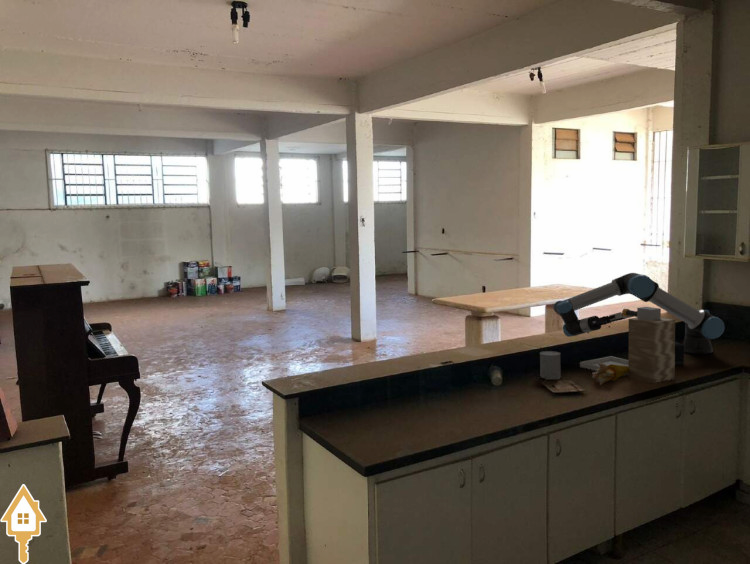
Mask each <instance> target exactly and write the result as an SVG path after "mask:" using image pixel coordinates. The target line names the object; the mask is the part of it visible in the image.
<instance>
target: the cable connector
mask: <svg viewBox="0 0 750 564" xmlns="http://www.w3.org/2000/svg"><path fill="white" fill-rule="evenodd" d="M621 313H622V315H623V316H633V317H632V318H638V319H644V320H651V321H653V320H659V319H661V318H662V308H660V307H653V306H652V307H651V306H641V307H637V309H636V310H631V309H630V308H629V309H628V308H623V309H622V310H621Z"/></svg>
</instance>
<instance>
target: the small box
mask: <svg viewBox="0 0 750 564" xmlns="http://www.w3.org/2000/svg"><path fill="white" fill-rule="evenodd" d="M682 344H683V343H679V342H677V341H675V366H684V364H685V363H684V361H685V359H684V358H685V352H684V345H682Z"/></svg>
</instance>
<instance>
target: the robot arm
mask: <svg viewBox="0 0 750 564" xmlns="http://www.w3.org/2000/svg"><path fill="white" fill-rule="evenodd" d="M624 295H632V296H634V297H636V298H637V299H638V300H640V301H643V302H644V303H648V302H650V303H651V304H653V305H655V306H657V308H660V309H661V310H663V311H665V312H667V313H669V314H671V315H672V316H674V317H675V318H677V319H679V320H681V321H682V322H684V324H685V325H684V331H685V332H684V339H683V342H682V343H681V344H682V345H684V353H686V352H687V354H692V353H693V355H708V353H709V354H713V350H714V348H713V345H712V343H711V340H714V339H718V338H719V337H721V336H722V335H723V333H724V332H725V323H724V321H723V320H722V319H721V318H719V317H718V316H714V315H712V314H711V313H710V310H709V309H696V308H695V307H693V306H691V305H690V304H688V303H686V302H684V301H682V300H681V299H679V298H678V297H676V296H674V295H672V294H671V293H670V292H667V291H666V290H664V289H662V288H661V287H660V286H659V283H658V282H656V281H655V280H653V279H652V278H651V277H649V276H648V275H646V274H642V273H641V274H640V273H636V272H629V273H626V274H624V275H620V276H619V277H617V278H614V279H612V280H611V282H608V283H606V284H603V285H601V286H599V287H598V286H597V287H596V288H594V289H591V290H588V291H585V292H582V293H580V294H577V295H575V296H572V297H569V298H567V299H563V300H558V301H556V302H554V304H553V310H554V312H555V314H557V315H558V316H560V317H561V320H562V321H563V323H564V324H563V325H562V331H563V334H564V336H566V337H568V338H570V337H576V336H579V335H582V334H586V333H587V334H590V332H596V331H598V330H601V328H602V326H605V325H608V324H612V323H614V322H619V321H623V320H626V319H627V320H628V319H631V318H634V317H633V316H623V315H622V311H619V312H616V313H613V314H609V315H606V316H605V315H604V316H600V317H599V316H597V315H591V316H589V317H584V318H581V319H579V317H578V316H577V313H576V312H575V311H578V310H581V309H583V308H587V307H588V306H591V305H594V304H597V303H600V302H602V301H605V300H607V299H609V298H613V297H615V296H618V297H621V296H624Z"/></svg>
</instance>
